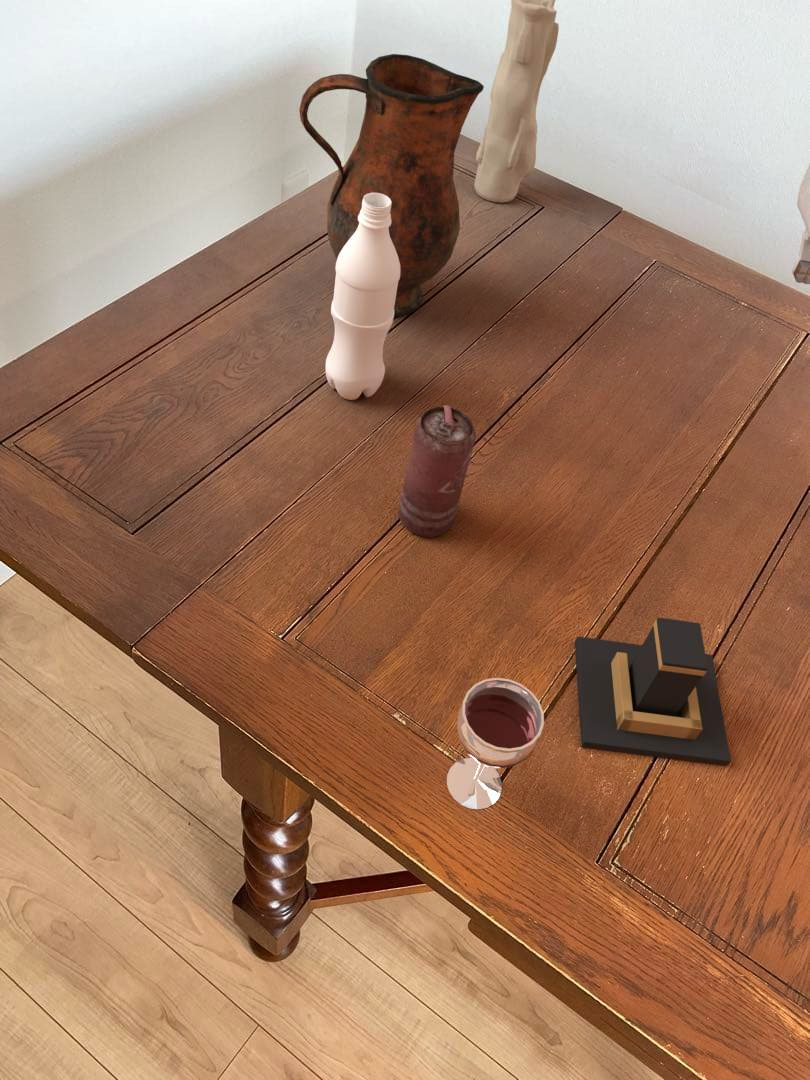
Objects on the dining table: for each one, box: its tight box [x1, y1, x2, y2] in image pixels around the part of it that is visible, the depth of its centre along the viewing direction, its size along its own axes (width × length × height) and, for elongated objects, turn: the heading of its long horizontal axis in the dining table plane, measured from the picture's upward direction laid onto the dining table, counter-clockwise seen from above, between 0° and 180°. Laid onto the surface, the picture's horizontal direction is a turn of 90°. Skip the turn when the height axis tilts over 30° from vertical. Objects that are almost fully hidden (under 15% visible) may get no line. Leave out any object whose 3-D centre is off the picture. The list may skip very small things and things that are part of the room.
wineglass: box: [446, 677, 545, 810], centre depth 81 cm, size 7×7×12 cm
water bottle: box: [324, 193, 401, 401], centre depth 109 cm, size 7×7×25 cm
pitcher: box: [298, 53, 485, 318], centre depth 120 cm, size 17×21×30 cm
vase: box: [474, 0, 560, 203], centre depth 143 cm, size 9×8×30 cm
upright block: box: [629, 617, 708, 717], centre depth 90 cm, size 4×5×9 cm
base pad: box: [574, 636, 732, 767], centre depth 93 cm, size 14×12×3 cm
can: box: [397, 404, 477, 538], centre depth 101 cm, size 6×6×14 cm
